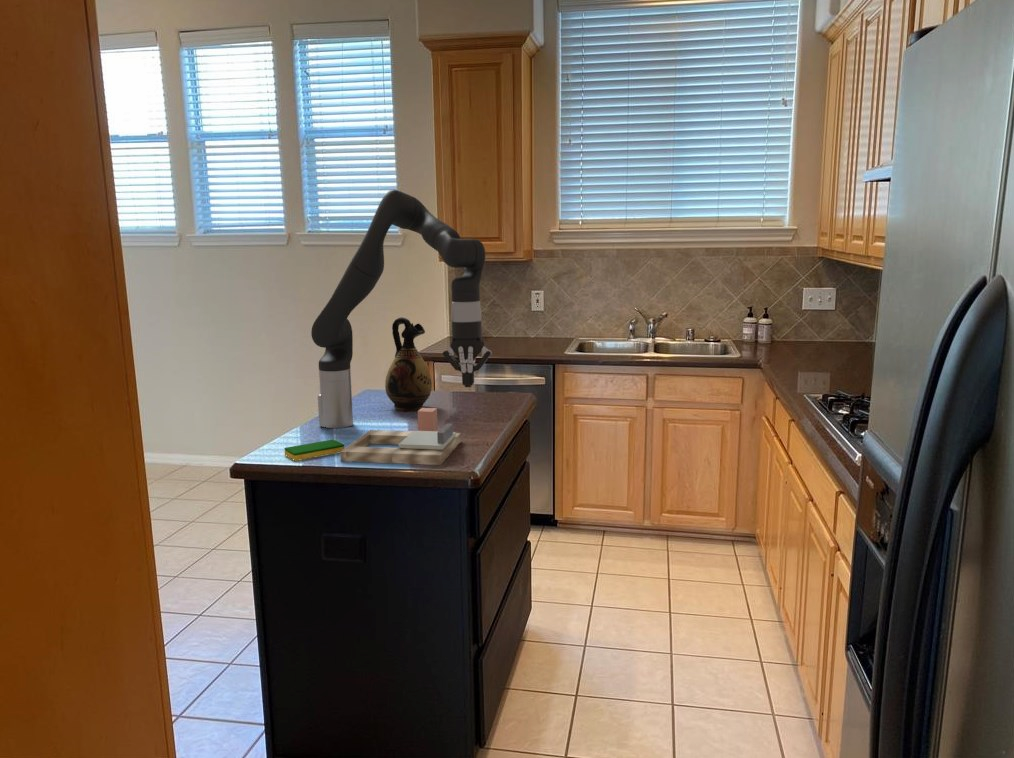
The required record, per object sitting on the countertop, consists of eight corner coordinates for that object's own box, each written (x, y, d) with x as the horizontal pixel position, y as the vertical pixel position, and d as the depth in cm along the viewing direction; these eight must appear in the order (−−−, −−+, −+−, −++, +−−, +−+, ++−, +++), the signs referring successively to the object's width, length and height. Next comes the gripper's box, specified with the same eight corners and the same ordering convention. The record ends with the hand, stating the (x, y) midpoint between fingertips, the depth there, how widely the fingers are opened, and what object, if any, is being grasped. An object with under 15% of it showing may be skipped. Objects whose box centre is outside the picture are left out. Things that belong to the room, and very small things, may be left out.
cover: (398, 448, 190) (398, 433, 189) (414, 434, 203) (413, 420, 203) (442, 449, 188) (442, 434, 187) (455, 435, 202) (455, 421, 201)
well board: (340, 461, 189) (340, 451, 188) (370, 438, 210) (370, 430, 210) (440, 465, 184) (440, 455, 184) (461, 441, 206) (460, 433, 205)
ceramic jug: (442, 406, 251) (439, 317, 246) (412, 415, 238) (409, 321, 233) (403, 401, 260) (400, 314, 255) (372, 409, 247) (368, 319, 242)
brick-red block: (418, 435, 214) (417, 411, 212) (422, 431, 218) (422, 407, 217) (433, 435, 213) (432, 411, 212) (437, 431, 217) (437, 408, 216)
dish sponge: (345, 453, 198) (345, 444, 197) (294, 462, 189) (294, 453, 189) (334, 447, 203) (333, 438, 203) (284, 456, 195) (283, 447, 195)
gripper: (437, 320, 186) (439, 389, 189) (489, 320, 184) (491, 389, 187) (444, 318, 193) (446, 384, 196) (494, 317, 191) (496, 384, 194)
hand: (468, 386), depth 192 cm, fingers closed
